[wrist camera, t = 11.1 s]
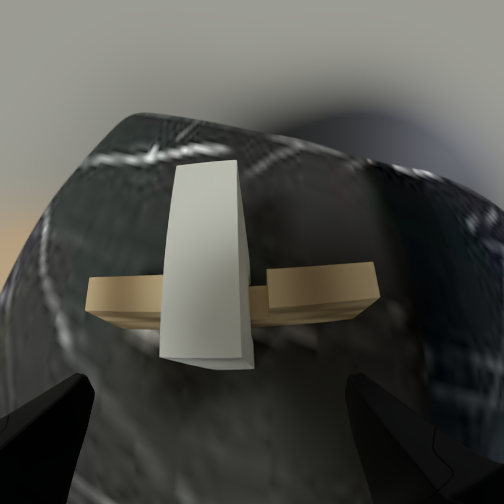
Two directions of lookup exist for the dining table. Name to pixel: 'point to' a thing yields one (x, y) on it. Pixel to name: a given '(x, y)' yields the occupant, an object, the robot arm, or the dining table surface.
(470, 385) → the dining table surface
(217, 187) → the grey tapered block
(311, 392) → the dining table surface
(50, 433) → the robot arm
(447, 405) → the dining table surface
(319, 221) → the dining table surface
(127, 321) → the notched base plate
